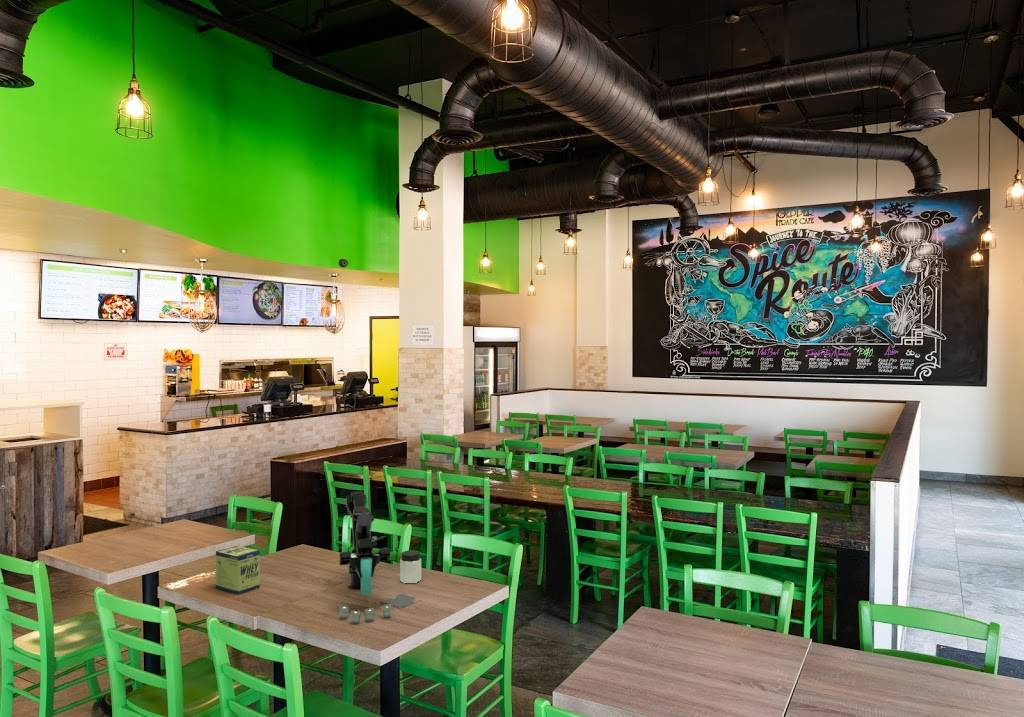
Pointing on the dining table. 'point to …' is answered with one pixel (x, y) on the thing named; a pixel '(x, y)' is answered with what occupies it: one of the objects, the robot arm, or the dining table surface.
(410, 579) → the jar
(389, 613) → the spacer posts
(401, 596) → the mat
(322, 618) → the dining table surface
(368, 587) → the teal dowel
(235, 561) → the protein box
